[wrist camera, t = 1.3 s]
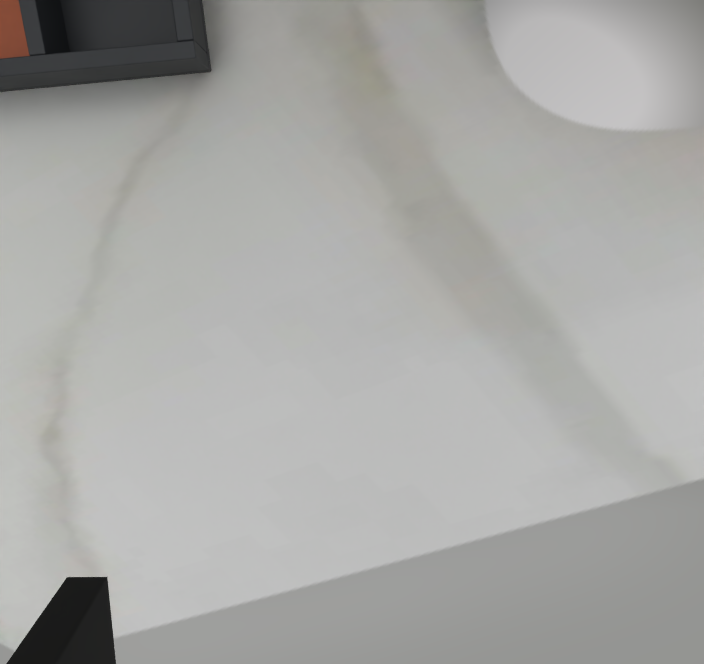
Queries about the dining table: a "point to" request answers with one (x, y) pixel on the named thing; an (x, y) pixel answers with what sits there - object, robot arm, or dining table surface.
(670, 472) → the dining table surface
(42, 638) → the robot arm
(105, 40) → the grid
